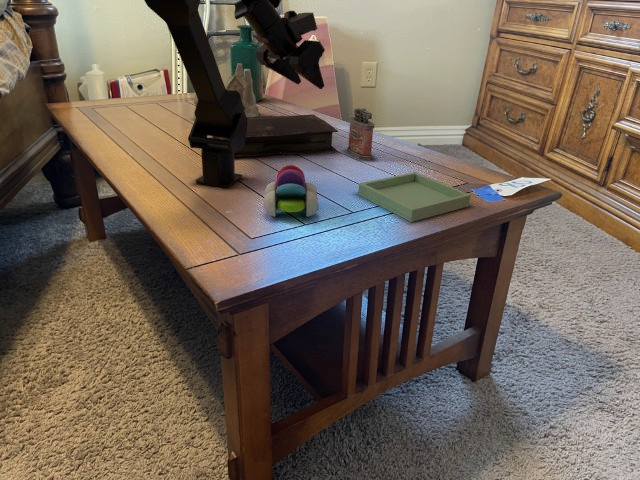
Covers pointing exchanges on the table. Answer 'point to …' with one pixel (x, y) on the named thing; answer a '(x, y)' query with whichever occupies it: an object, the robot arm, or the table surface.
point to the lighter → (360, 134)
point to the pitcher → (248, 59)
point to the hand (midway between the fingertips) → (310, 85)
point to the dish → (414, 196)
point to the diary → (286, 135)
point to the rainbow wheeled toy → (290, 193)
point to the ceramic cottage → (242, 90)
